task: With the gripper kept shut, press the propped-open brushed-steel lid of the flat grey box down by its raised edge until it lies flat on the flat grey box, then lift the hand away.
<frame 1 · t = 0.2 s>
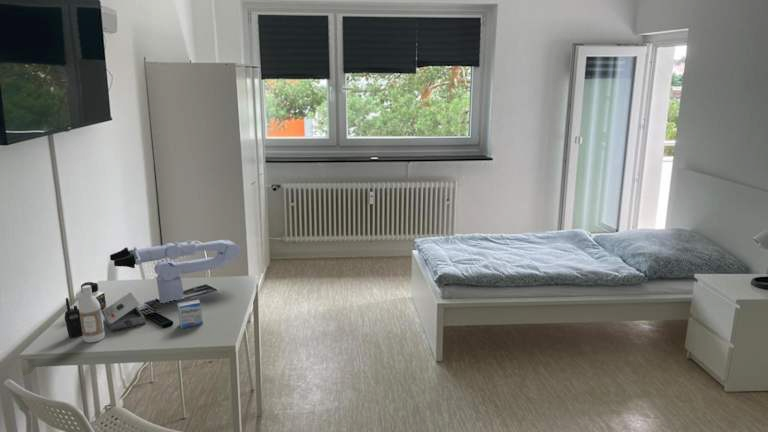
hand: (112, 260, 233), 21 cm above the table, tool horizontal, fingers open, 7 cm apart
two-way radio: (76, 335, 216), on the table
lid: (119, 307, 224), point 6 cm above the table, hinge at 25.0°
medicine box: (191, 324, 223), on the table
flat grey box: (124, 322, 226), on the table
bath foam: (94, 339, 213), on the table
medicine bottle: (93, 311, 238), on the table
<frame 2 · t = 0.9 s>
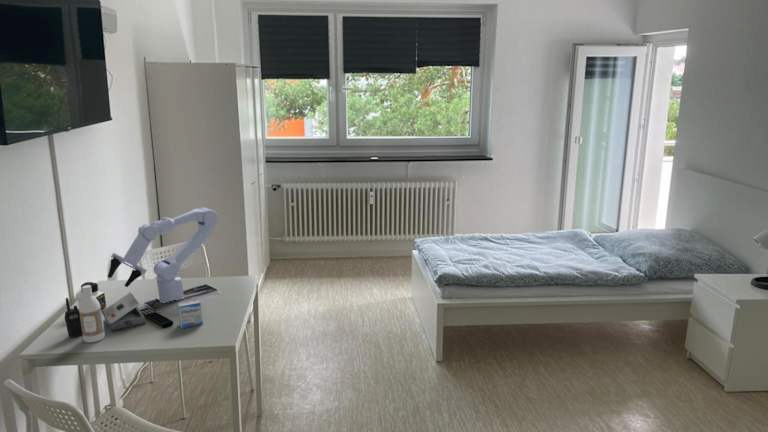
hand: (117, 282, 233), 13 cm above the table, tool tilted 40°, fingers open, 7 cm apart
nothing on the table moved.
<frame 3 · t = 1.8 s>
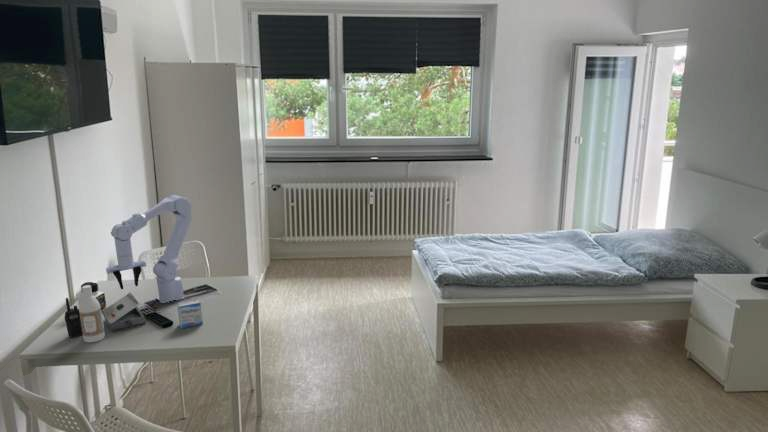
hand: (129, 286, 235), 10 cm above the table, tool pointing down, fingers open, 5 cm apart
nothing on the table moved.
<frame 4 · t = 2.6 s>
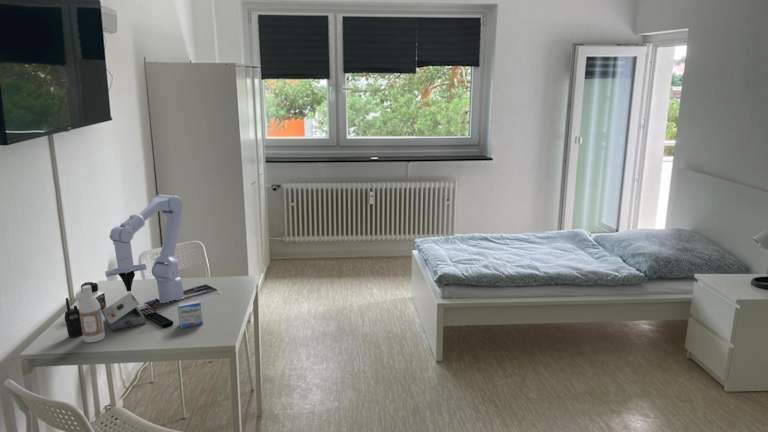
hand: (128, 290, 230), 10 cm above the table, tool pointing down, fingers closed
nothing on the table moved.
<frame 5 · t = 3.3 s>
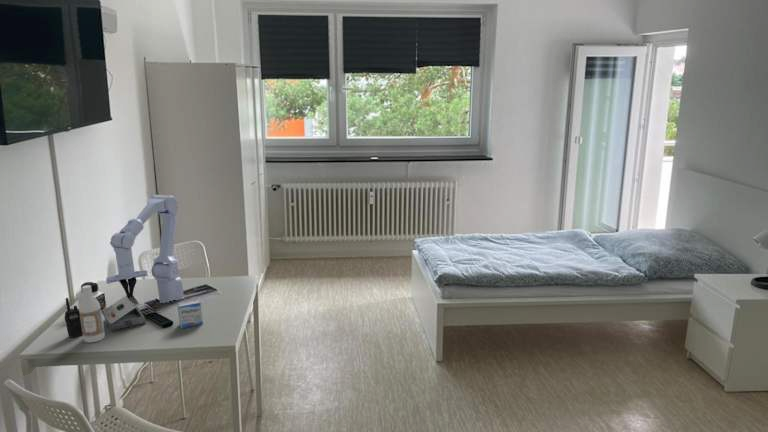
hand: (129, 297, 229), 8 cm above the table, tool pointing down, fingers closed
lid: (119, 307, 224), point 6 cm above the table, hinge at 24.2°, touching gripper
everything else where it was.
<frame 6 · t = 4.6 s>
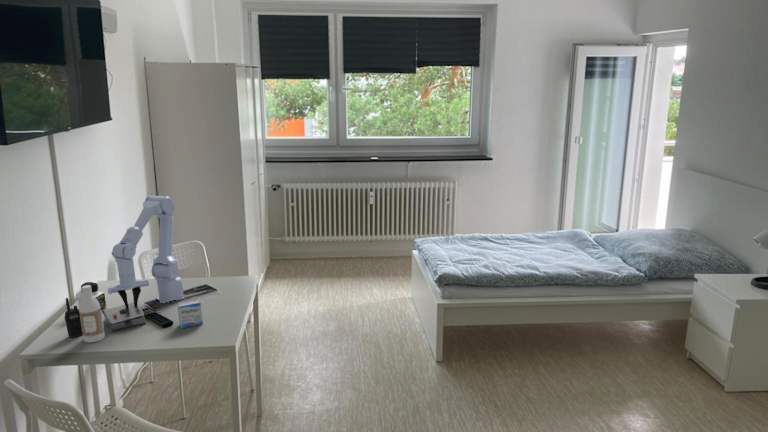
hand: (131, 307, 230), 4 cm above the table, tool pointing down, fingers closed on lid, 2 cm apart
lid: (122, 311, 225), point 4 cm above the table, hinge at 2.7°, touching gripper
everything else where it was.
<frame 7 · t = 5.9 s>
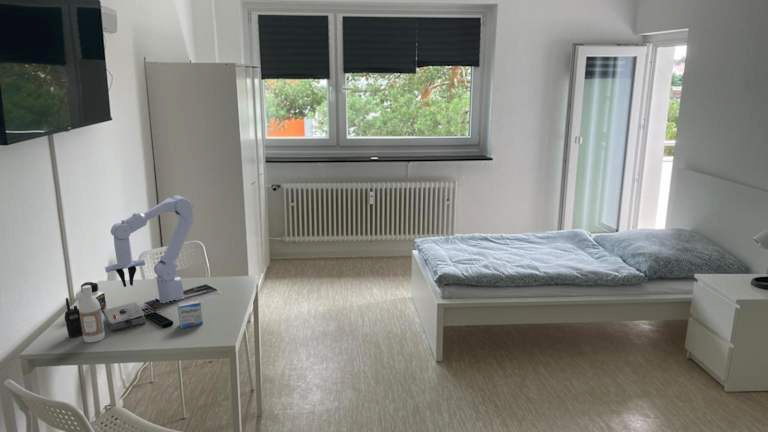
hand: (128, 285, 237), 10 cm above the table, tool pointing down, fingers closed
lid: (122, 311, 225), point 4 cm above the table, hinge at 2.7°
everything else where it was.
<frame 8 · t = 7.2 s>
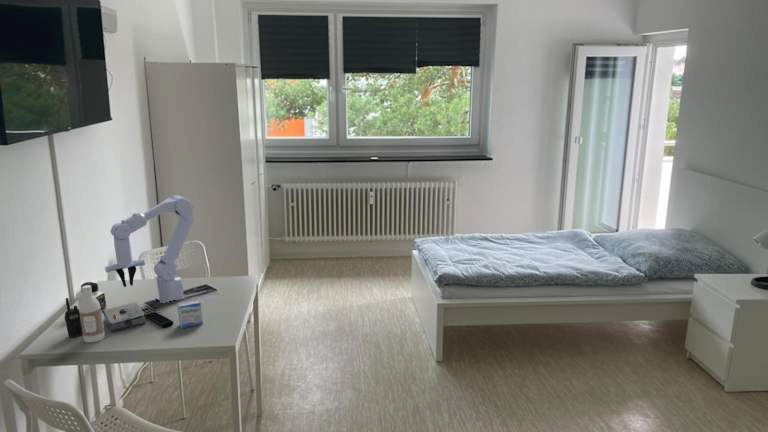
hand: (128, 285, 237), 10 cm above the table, tool pointing down, fingers closed
nothing on the table moved.
at the end: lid at +3° (first picture: +25°); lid touching nothing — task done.
